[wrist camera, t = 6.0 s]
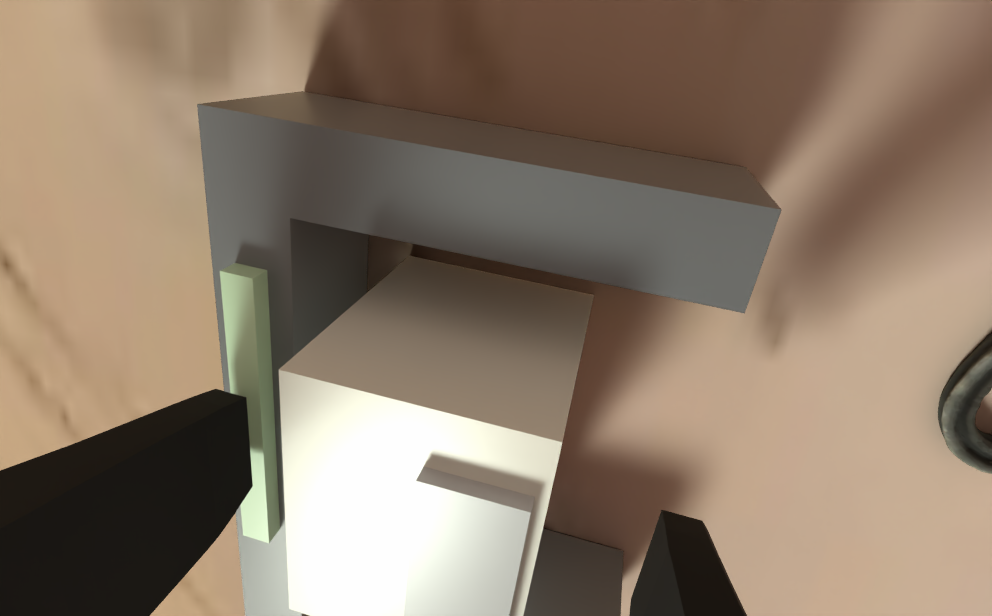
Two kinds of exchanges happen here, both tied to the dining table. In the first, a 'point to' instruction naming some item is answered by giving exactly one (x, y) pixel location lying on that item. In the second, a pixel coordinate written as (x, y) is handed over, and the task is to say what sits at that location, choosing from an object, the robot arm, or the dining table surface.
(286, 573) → the socket panel
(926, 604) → the dining table surface
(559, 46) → the dining table surface
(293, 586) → the plug
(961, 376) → the composite cable
